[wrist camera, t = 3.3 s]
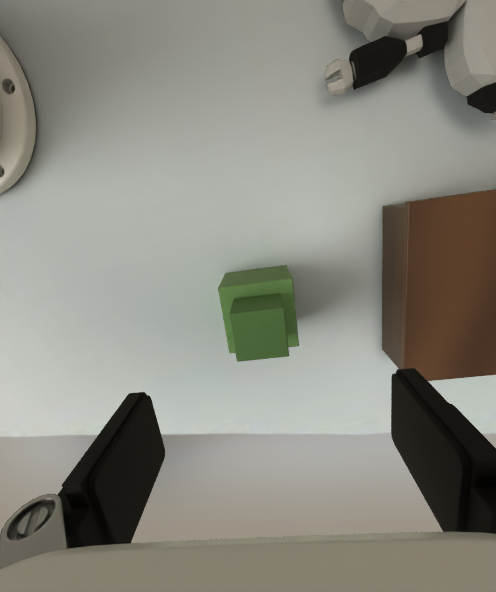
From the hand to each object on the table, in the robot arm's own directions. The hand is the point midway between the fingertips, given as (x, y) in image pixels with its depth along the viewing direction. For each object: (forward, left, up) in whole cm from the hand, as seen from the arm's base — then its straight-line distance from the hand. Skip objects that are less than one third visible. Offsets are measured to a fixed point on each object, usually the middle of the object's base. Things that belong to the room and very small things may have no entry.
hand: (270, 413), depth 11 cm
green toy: (0, 0, -14) cm, 14 cm away
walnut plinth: (+16, 0, -14) cm, 21 cm away
